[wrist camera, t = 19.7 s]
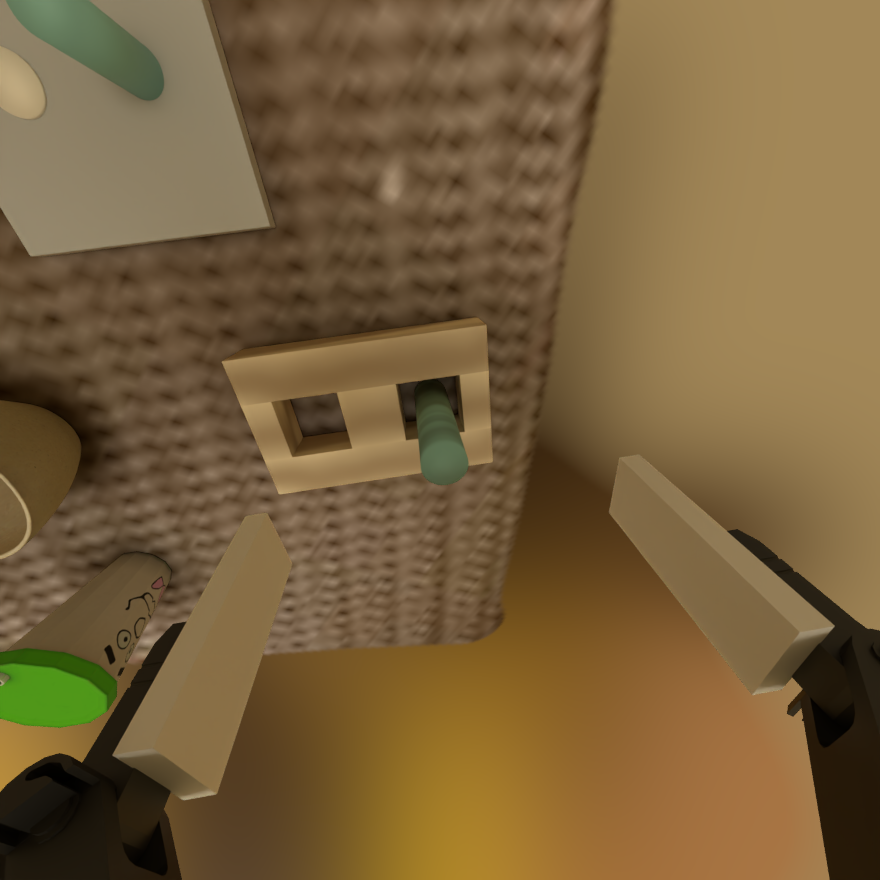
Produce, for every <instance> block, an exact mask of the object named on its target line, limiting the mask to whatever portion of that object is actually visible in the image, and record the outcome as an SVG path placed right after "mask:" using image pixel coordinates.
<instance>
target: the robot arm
mask: <svg viewBox="0 0 880 880" xmlns="http://www.w3.org/2000/svg"><path fill="white" fill-rule="evenodd" d="M609 513H610V514H611V516H612V517H613V518H614V519H615V521H616V522H617V523H618V525H619V526H620V527H621V528H622V530H623V531H624V532H625V534H626V535H627V536H628V537H629V539H630V540H631V541H632V542H633V544H634V545H635V546H636V548H637V549H638V550H639V551H640V553H641V554H642V555H643V557H644V558H645V559H646V560H647V562H648V563H649V564H650V565H651V567H652V568H653V569H654V571H655V572H656V573H657V574H658V576H659V577H660V578H661V579H662V581H663V582H664V583H665V585H666V586H667V587H668V588H669V590H670V591H671V592H672V594H673V595H674V596H675V597H676V599H677V600H678V601H679V602H680V604H681V605H682V606H683V607H684V609H685V610H686V611H687V613H688V614H689V615H690V616H691V618H692V619H693V620H694V622H695V623H696V624H697V625H698V627H699V628H700V629H701V630H702V632H703V633H704V634H705V635H706V637H707V638H708V639H709V641H710V642H711V643H712V644H713V646H714V647H715V648H716V650H717V651H718V652H719V653H720V655H721V656H722V657H723V659H724V660H725V661H726V662H727V664H728V665H729V666H730V667H731V669H732V670H733V671H734V672H735V674H736V675H737V676H738V678H739V679H740V680H741V682H742V683H743V684H744V685H745V686H746V688H747V689H748V690H749V692H750V693H751V694H752V695H755V694H761V693H766V692H771V691H777V690H782V689H783V687H784V686H785V685H786V684H787V683H788V681H789V680H790V679H791V678H793V679H794V680H795V681H796V682H797V683H798V684H799V685H800V686H801V687H802V688H803V690H802V691H801V692H800V693H799V694H798V695H797V696H796V697H795V699H794V700H793V701H792V702H791V703H790V704H789V705H788V711H787V714H789V715H791V716H794V715H795V714H796V713H797V712H798V711H799V710H800V709H801V708H802V713H803V719H802V721H804V726H805V732H806V738H807V744H808V750H809V756H810V762H811V768H812V775H813V781H814V787H815V793H816V799H817V805H818V811H819V816H820V823H821V829H822V835H823V841H824V847H825V853H826V860H827V866H828V872H829V877H830V880H880V631H879V630H874V629H867V628H865V627H864V626H863V625H861V624H860V623H859V622H857V621H856V620H854V619H853V618H852V617H851V616H850V615H848V614H847V613H846V612H845V611H844V610H842V609H841V608H840V607H839V606H838V605H836V604H835V603H834V602H833V601H832V600H830V599H829V598H828V597H826V596H825V595H824V594H823V593H822V592H821V591H819V590H818V589H817V588H816V587H814V586H813V585H812V584H811V583H810V582H808V581H807V580H806V579H805V578H804V577H802V576H801V575H800V574H799V573H797V572H794V571H793V568H791V567H790V566H789V565H788V564H787V563H785V562H784V561H783V560H782V559H778V557H777V555H775V554H774V553H773V552H772V551H771V550H770V549H768V548H767V547H766V546H765V545H764V544H762V543H761V542H760V541H758V540H756V539H755V538H753V537H751V536H749V535H747V534H745V533H743V532H741V531H740V530H738V529H736V530H730V531H726V530H725V529H724V528H722V527H721V526H720V525H719V524H718V523H717V522H716V521H714V520H713V519H712V518H711V517H710V516H709V515H708V514H707V513H705V512H704V511H703V510H702V509H701V508H700V507H699V506H697V505H696V504H695V503H694V502H693V501H692V500H691V499H689V498H688V497H687V496H686V495H685V494H684V493H683V492H681V491H680V490H679V489H678V488H677V487H676V486H675V485H673V484H672V483H671V482H670V481H669V480H668V479H667V478H665V477H664V476H663V475H662V474H661V473H660V472H659V471H657V470H656V469H655V468H654V467H653V466H651V464H649V463H648V462H647V461H646V460H645V459H644V458H643V457H641V456H640V455H634V456H627V457H620V458H619V463H618V468H617V473H616V478H615V484H614V489H613V494H612V500H611V504H610V510H609ZM291 566H292V562H291V560H290V558H289V556H288V554H287V552H286V550H285V548H284V546H283V544H282V542H281V540H280V538H279V536H278V534H277V532H276V530H275V528H274V526H273V524H272V522H271V520H270V518H269V516H268V513H262V514H255V515H249V516H245V518H244V520H243V522H242V523H241V525H240V527H239V529H238V531H237V532H236V534H235V536H234V538H233V540H232V541H231V543H230V545H229V547H228V549H227V550H226V552H225V554H224V556H223V558H222V559H221V561H220V563H219V565H218V566H217V568H216V570H215V572H214V574H213V575H212V577H211V579H210V581H209V583H208V584H207V586H206V588H205V590H204V592H203V593H202V595H201V597H200V599H199V601H198V602H197V604H196V606H195V608H194V610H193V611H192V613H191V615H190V617H189V618H188V620H187V622H182V623H176V624H173V625H172V626H171V627H170V628H169V629H168V630H167V631H166V632H165V633H164V634H163V635H162V636H161V637H160V639H159V640H158V641H157V642H156V643H155V644H154V646H153V647H152V649H151V651H150V652H149V654H148V655H147V657H146V659H145V660H144V662H143V664H142V668H141V669H139V670H138V672H137V674H136V676H135V677H134V679H133V680H132V682H131V687H130V688H128V689H127V690H126V692H125V693H124V695H123V697H122V698H121V700H120V702H119V703H118V705H117V707H116V708H115V710H114V712H113V713H112V715H111V717H110V718H109V720H108V721H107V723H106V725H105V726H104V728H103V730H102V731H101V733H100V735H99V736H98V738H97V740H96V741H95V743H94V745H93V746H92V748H91V750H90V751H89V753H88V754H87V756H86V758H85V759H84V761H83V762H82V763H81V762H80V761H78V760H76V759H74V758H73V757H71V756H68V755H65V754H60V753H59V754H55V755H52V756H49V757H45V758H43V759H41V760H40V761H38V762H36V763H35V764H33V765H32V766H30V767H28V768H26V769H25V770H24V771H23V772H21V773H20V774H19V775H18V776H17V777H15V778H14V779H13V780H12V781H11V782H10V783H8V784H7V785H6V786H5V787H4V789H3V790H2V791H1V792H0V880H182V878H181V873H180V869H179V865H178V860H177V855H176V851H175V846H174V841H173V837H172V832H171V827H170V823H169V818H168V816H167V814H166V813H165V811H164V807H165V804H166V802H167V799H168V797H169V795H170V792H171V793H173V794H174V795H176V796H177V797H179V798H181V799H182V800H187V799H193V798H198V797H204V796H209V795H215V794H217V791H218V788H219V785H220V782H221V779H222V776H223V773H224V770H225V767H226V764H227V761H228V758H229V755H230V752H231V749H232V745H233V743H234V740H235V737H236V734H237V731H238V728H239V725H240V722H241V719H242V715H243V712H244V709H245V706H246V703H247V700H248V697H249V694H250V691H251V688H252V685H253V682H254V679H255V676H256V673H257V670H258V667H259V664H260V661H261V658H262V655H263V652H264V649H265V646H266V642H267V639H268V636H269V633H270V630H271V627H272V624H273V621H274V618H275V615H276V612H277V609H278V606H279V603H280V600H281V597H282V594H283V591H284V588H285V585H286V582H287V579H288V576H289V573H290V570H291Z"/></svg>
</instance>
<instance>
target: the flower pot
mask: <svg viewBox="0 0 880 880" xmlns="http://www.w3.org/2000/svg"><path fill="white" fill-rule="evenodd" d="M80 456H81V443H80V439H79V437H78V435H77V434H76V432H75V431H74V429H73V428H72V427H71V426H70V425H69V424H68V423H67V422H66V421H65V420H63V419H62V418H61V417H59V416H58V415H56V414H54V413H53V412H51V411H49V410H47V409H44V408H42V407H39V406H35V405H31V404H25V403H19V402H12V401H3V400H0V559H2V558H5V557H8V556H10V555H12V554H14V553H16V552H17V551H19V550H20V549H21V548H22V547H23V546H24V545H25V544H26V543H28V542H29V541H30V540H31V539H32V538H33V537H34V536H35V535H36V534H37V532H38V531H39V530H40V529H41V528H42V527H43V526H44V525H45V524H46V522H47V521H48V520H49V519H50V518H51V516H52V515H53V514H54V513H55V511H56V510H57V508H58V507H59V506H60V504H61V503H62V501H63V499H64V498H65V496H66V495H67V493H68V491H69V489H70V487H71V485H72V483H73V480H74V478H75V475H76V472H77V469H78V466H79V461H80Z"/></svg>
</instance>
